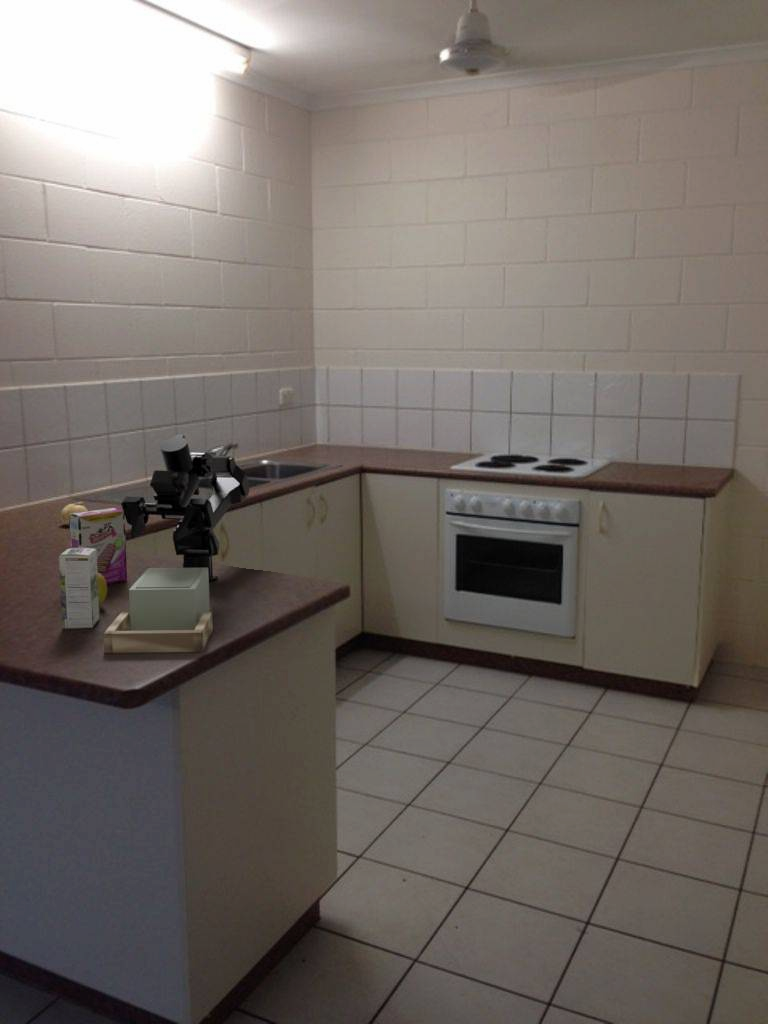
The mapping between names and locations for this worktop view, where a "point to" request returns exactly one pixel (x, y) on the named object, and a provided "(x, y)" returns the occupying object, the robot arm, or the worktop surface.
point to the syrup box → (79, 588)
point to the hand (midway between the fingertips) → (154, 537)
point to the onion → (71, 511)
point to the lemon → (102, 588)
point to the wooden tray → (156, 637)
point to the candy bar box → (102, 540)
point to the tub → (169, 599)
